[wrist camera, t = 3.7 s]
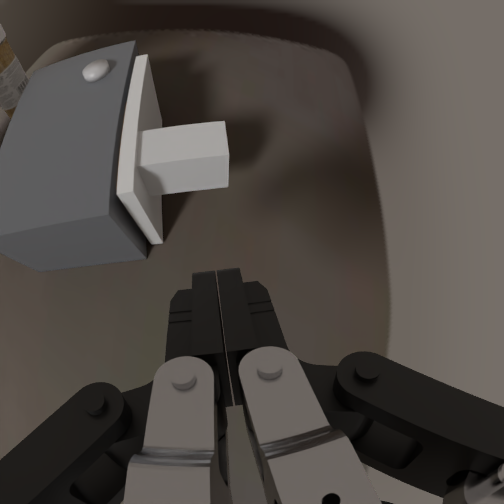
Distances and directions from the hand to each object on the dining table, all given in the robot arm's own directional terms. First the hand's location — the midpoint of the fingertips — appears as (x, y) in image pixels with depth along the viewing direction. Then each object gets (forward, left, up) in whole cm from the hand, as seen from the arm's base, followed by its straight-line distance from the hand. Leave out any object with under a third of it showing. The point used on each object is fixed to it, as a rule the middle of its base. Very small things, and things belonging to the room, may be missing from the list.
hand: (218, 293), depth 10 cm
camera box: (-10, +13, -11) cm, 20 cm away
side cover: (-2, +12, -11) cm, 16 cm away
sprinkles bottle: (-22, +25, -11) cm, 35 cm away
